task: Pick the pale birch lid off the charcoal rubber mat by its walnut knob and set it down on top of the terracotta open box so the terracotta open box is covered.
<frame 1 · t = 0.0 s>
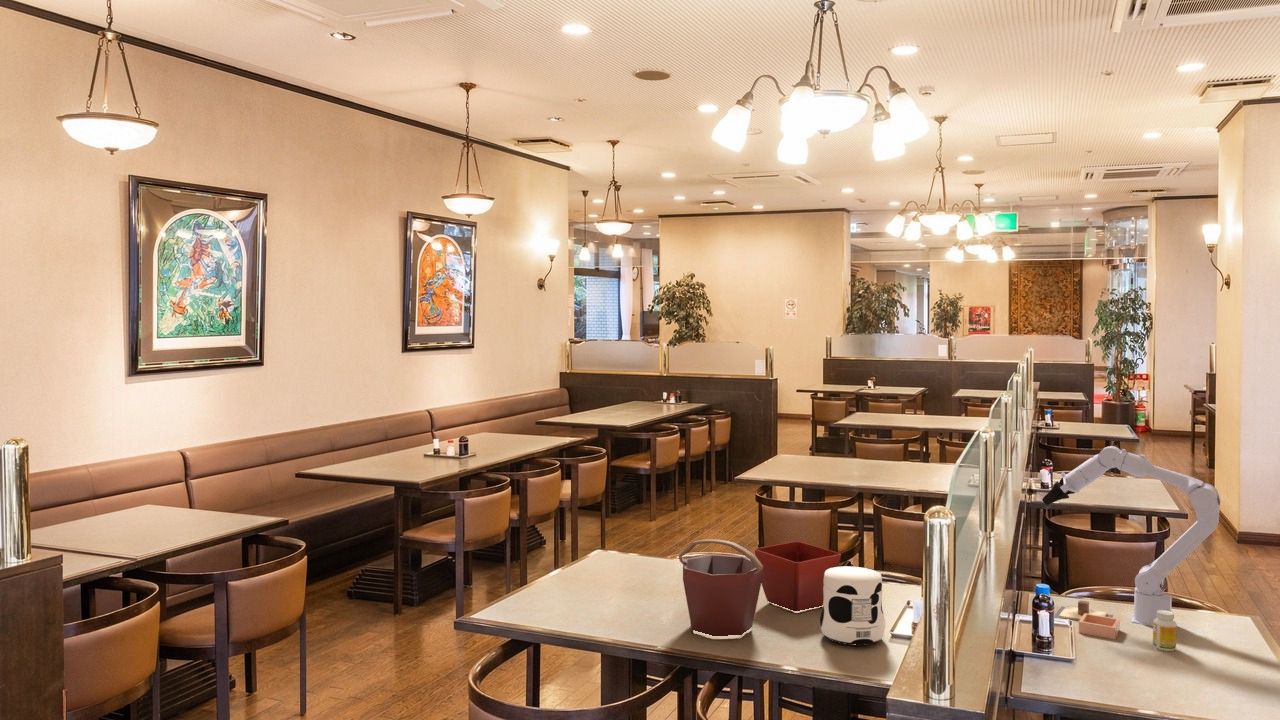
hand: (1046, 500, 274), 32 cm above the table, tool tilted 50°, fingers open, 7 cm apart
bucket: (721, 630, 253), on the table
plant pot: (797, 606, 275), on the table
supplement bottle: (1164, 648, 239), on the table
terracotta open box: (1099, 632, 251), on the table
milk container: (852, 639, 246), on the table
lid: (1083, 615, 264), resting on mat
mat: (1083, 617, 264), on the table
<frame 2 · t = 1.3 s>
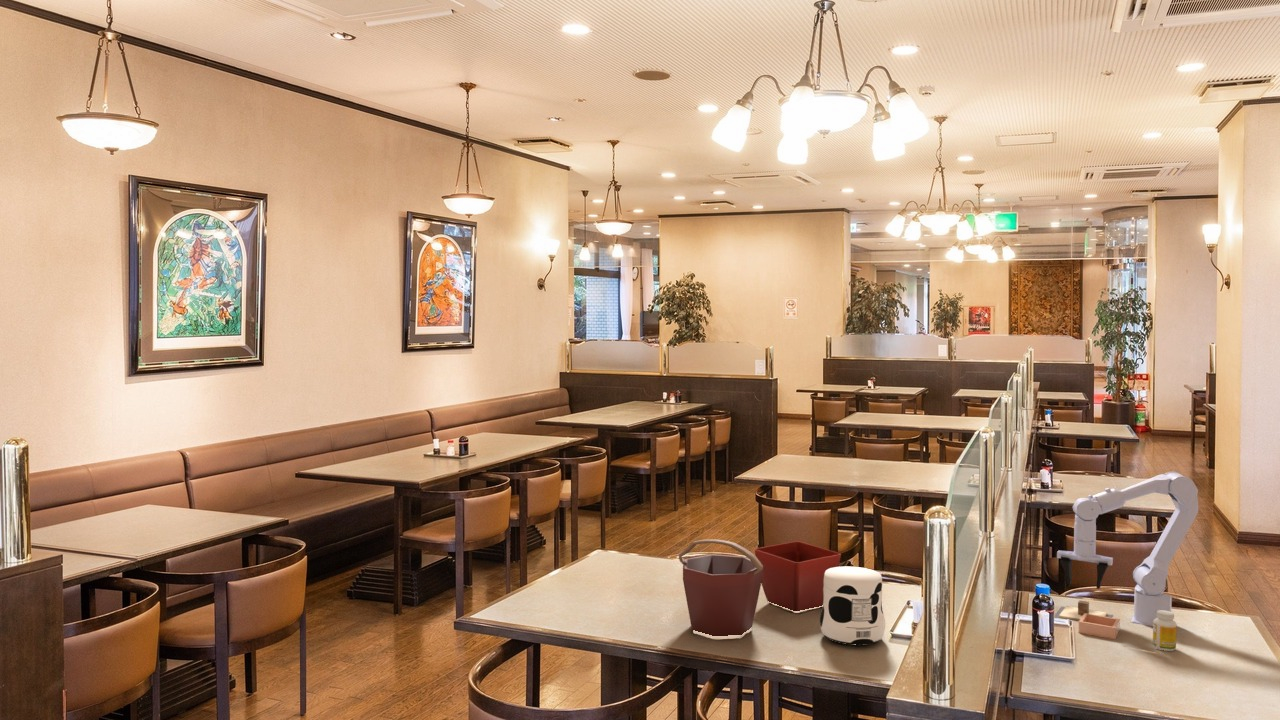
hand: (1083, 585, 264), 9 cm above the table, tool pointing down, fingers open, 7 cm apart
nothing on the table moved.
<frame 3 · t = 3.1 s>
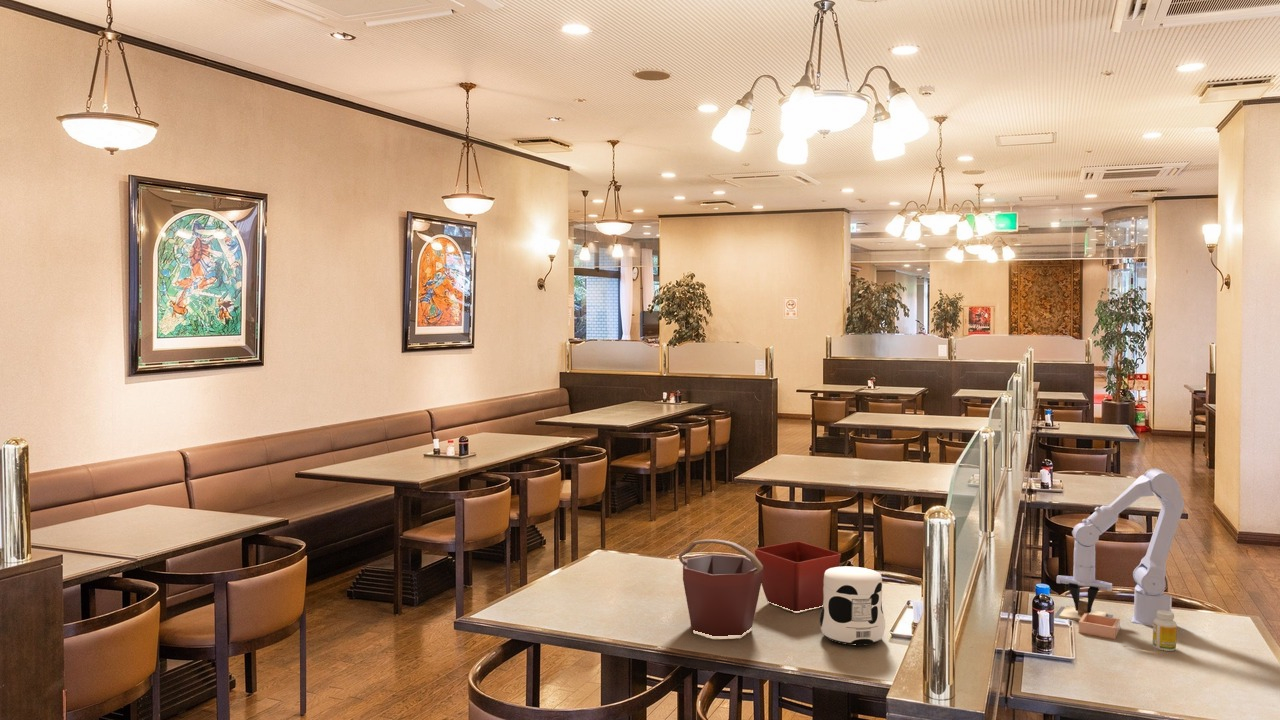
hand: (1083, 610, 264), 2 cm above the table, tool pointing down, fingers closed on lid, 2 cm apart
lid: (1083, 615, 264), resting on mat, touching gripper
everything else where it was.
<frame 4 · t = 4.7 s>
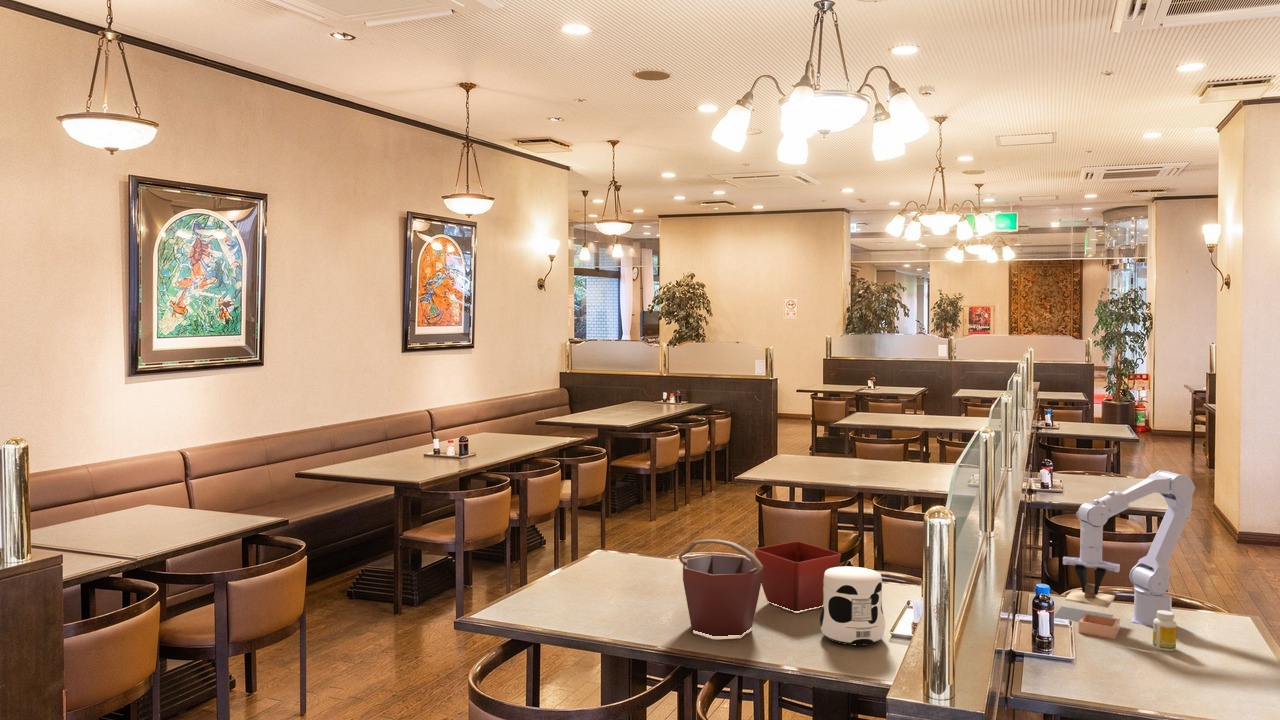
hand: (1090, 592, 258), 9 cm above the table, tool pointing down, fingers closed on lid, 2 cm apart
lid: (1090, 599, 258), point 7 cm above the table, touching gripper
everything else where it was.
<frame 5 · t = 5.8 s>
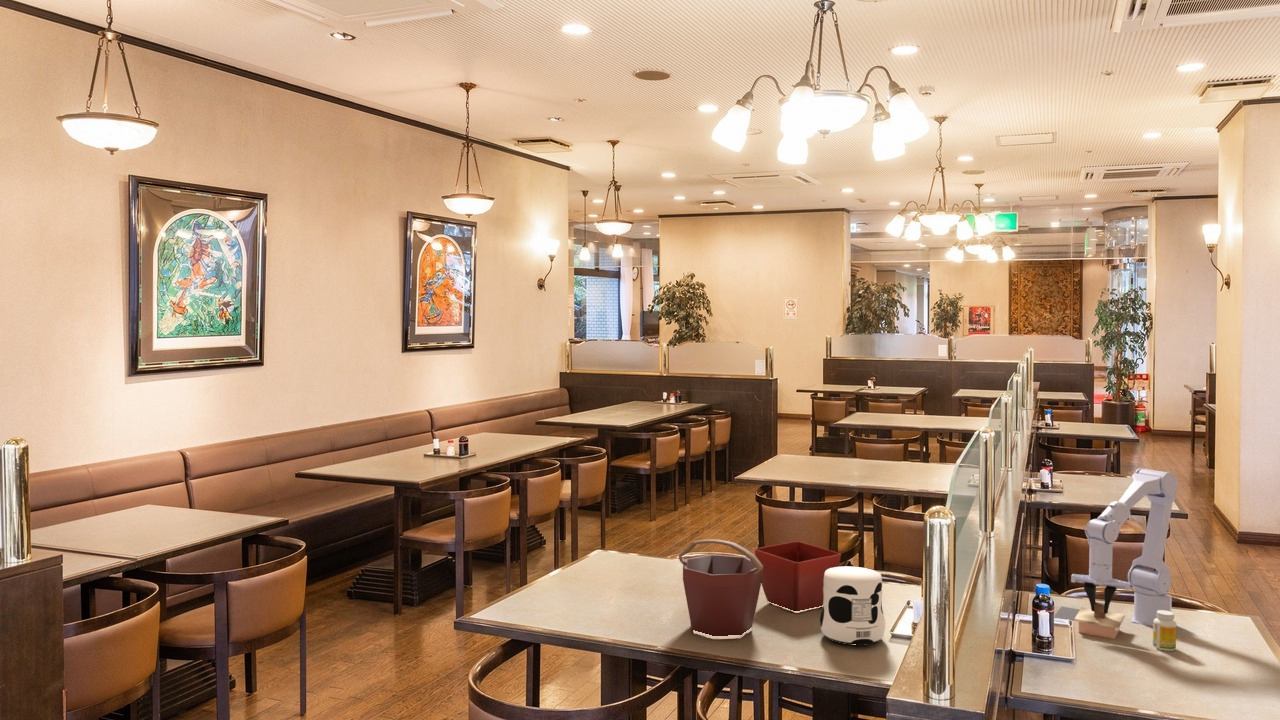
hand: (1099, 611, 251), 6 cm above the table, tool pointing down, fingers closed on lid, 2 cm apart
lid: (1099, 618, 251), point 4 cm above the table, touching gripper
everything else where it was.
when the fingers open (6 cm above the table, at t = 6.4 s): lid stays where it is, resting on terracotta open box.
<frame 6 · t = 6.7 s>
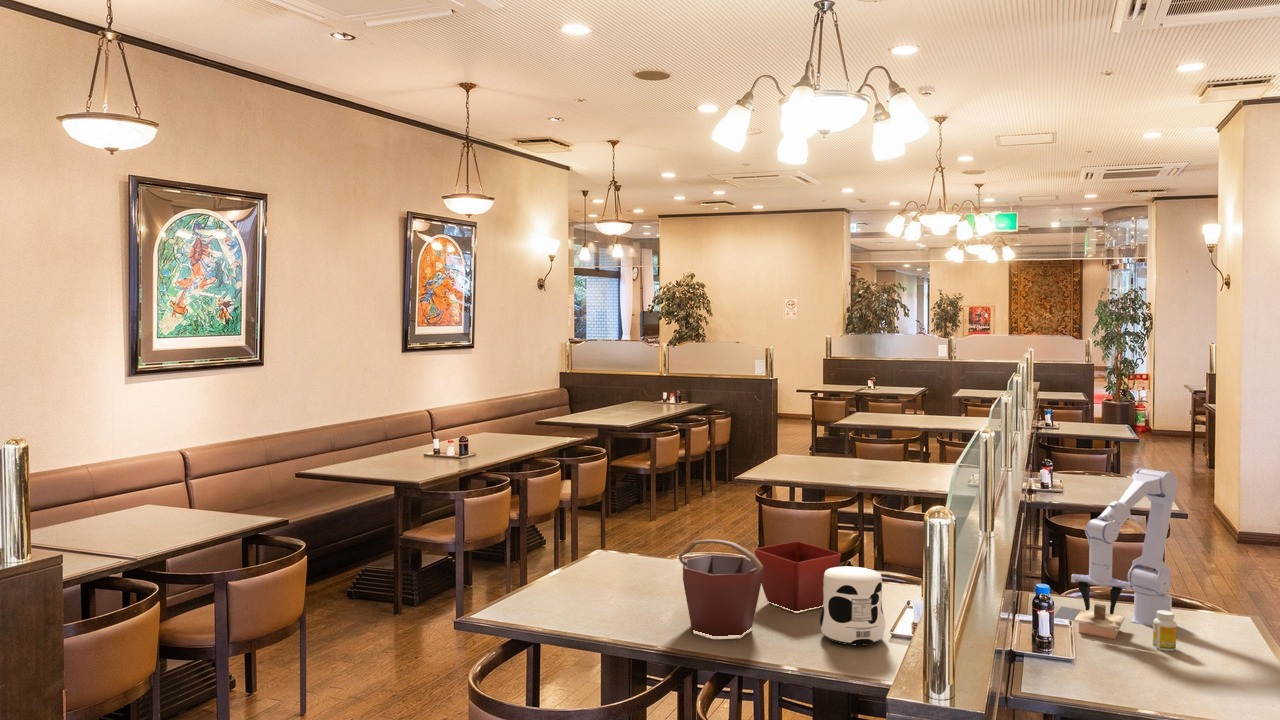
hand: (1099, 611, 251), 6 cm above the table, tool pointing down, fingers open, 5 cm apart
terracotta open box: (1099, 632, 251), on the table, touching lid
lid: (1099, 620, 251), point 3 cm above the table, touching terracotta open box
everything else where it was.
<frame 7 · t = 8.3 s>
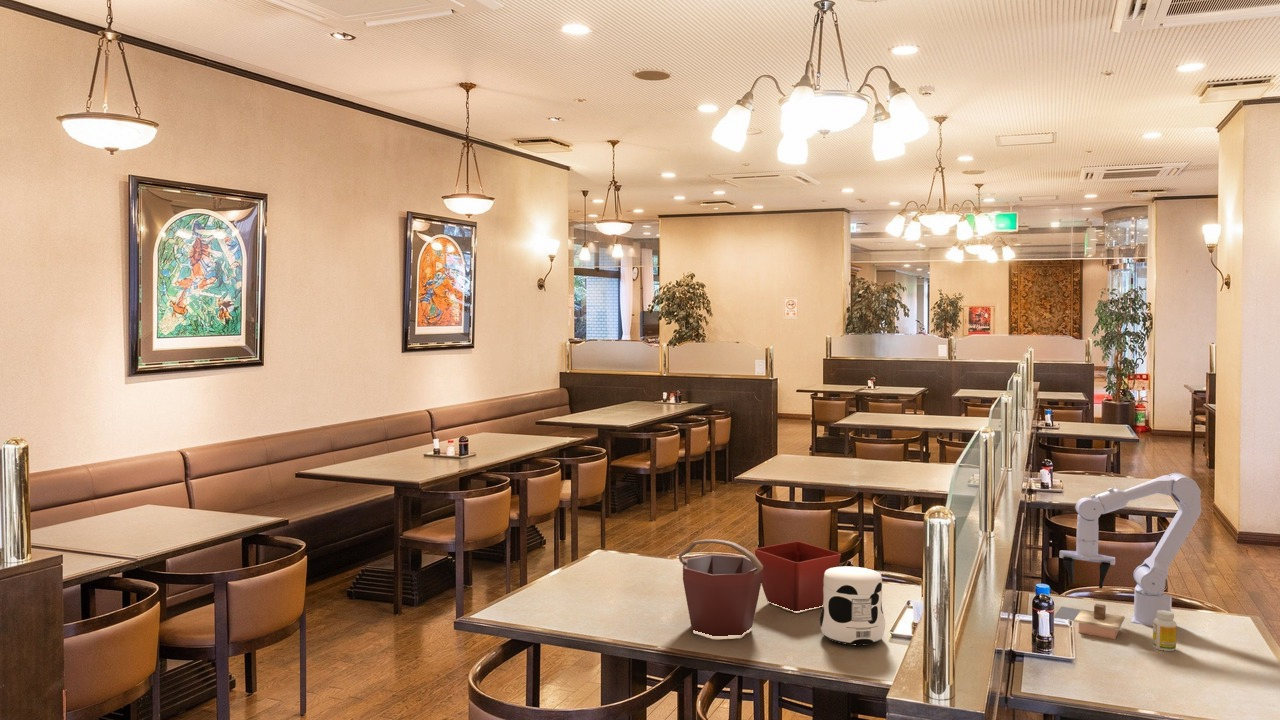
hand: (1086, 585, 264), 9 cm above the table, tool pointing down, fingers open, 7 cm apart
nothing on the table moved.
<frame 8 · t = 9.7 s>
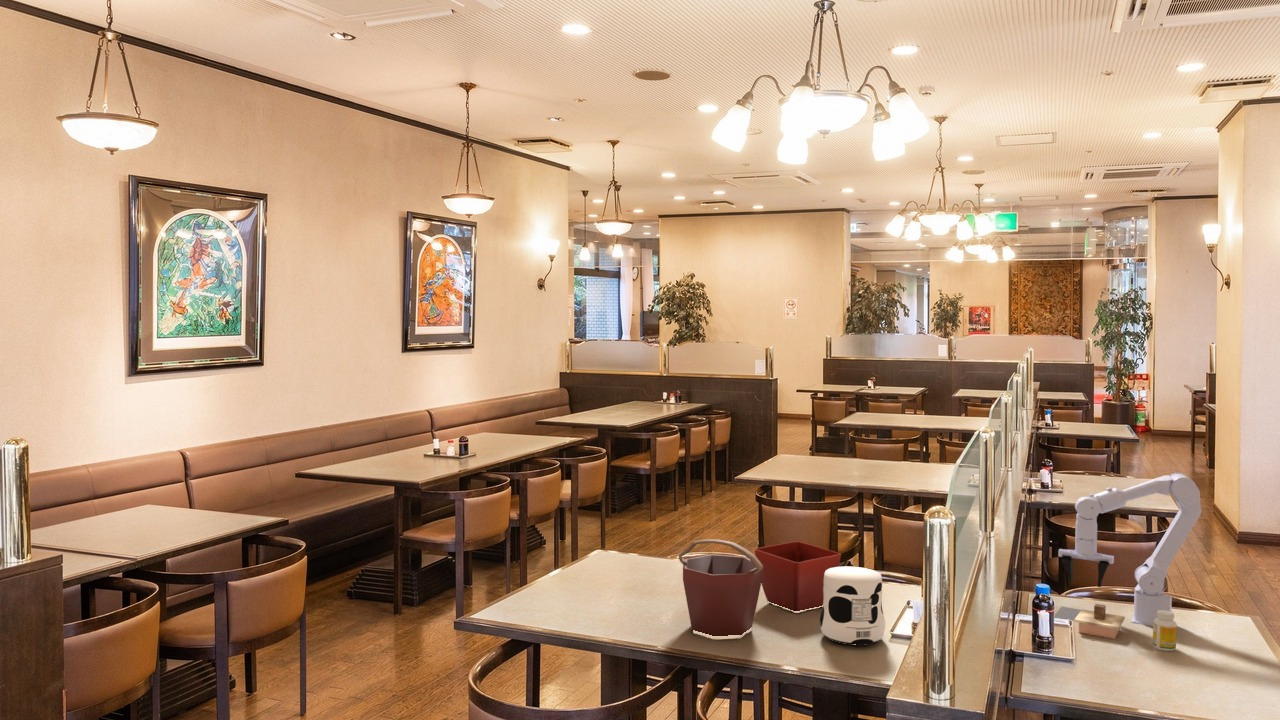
hand: (1085, 584, 265), 9 cm above the table, tool pointing down, fingers open, 7 cm apart
nothing on the table moved.
at the end: lid 0.2 cm from the terracotta open box (horizontally); lid point 3.5 cm above the table; lid tilted 0° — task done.
